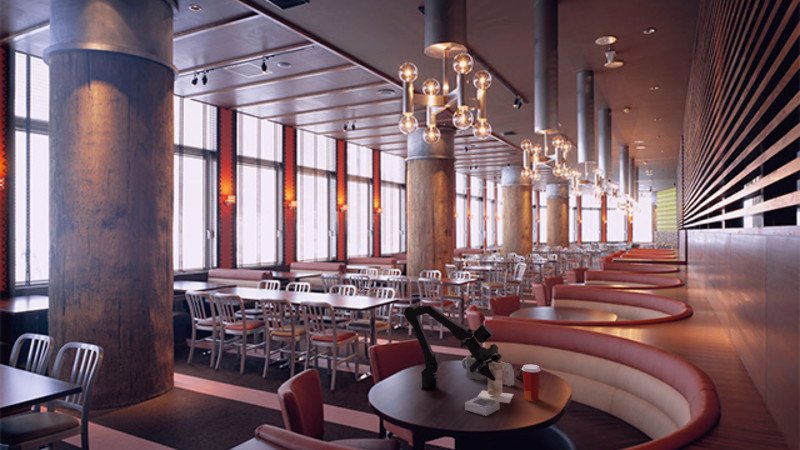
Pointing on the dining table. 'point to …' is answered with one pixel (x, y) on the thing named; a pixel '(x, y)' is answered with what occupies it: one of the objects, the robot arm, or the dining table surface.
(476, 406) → the socket
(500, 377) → the wooden peg
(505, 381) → the white printed carton
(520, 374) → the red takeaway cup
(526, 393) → the paper cup
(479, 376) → the coffee mug
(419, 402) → the dining table surface
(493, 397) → the tile
